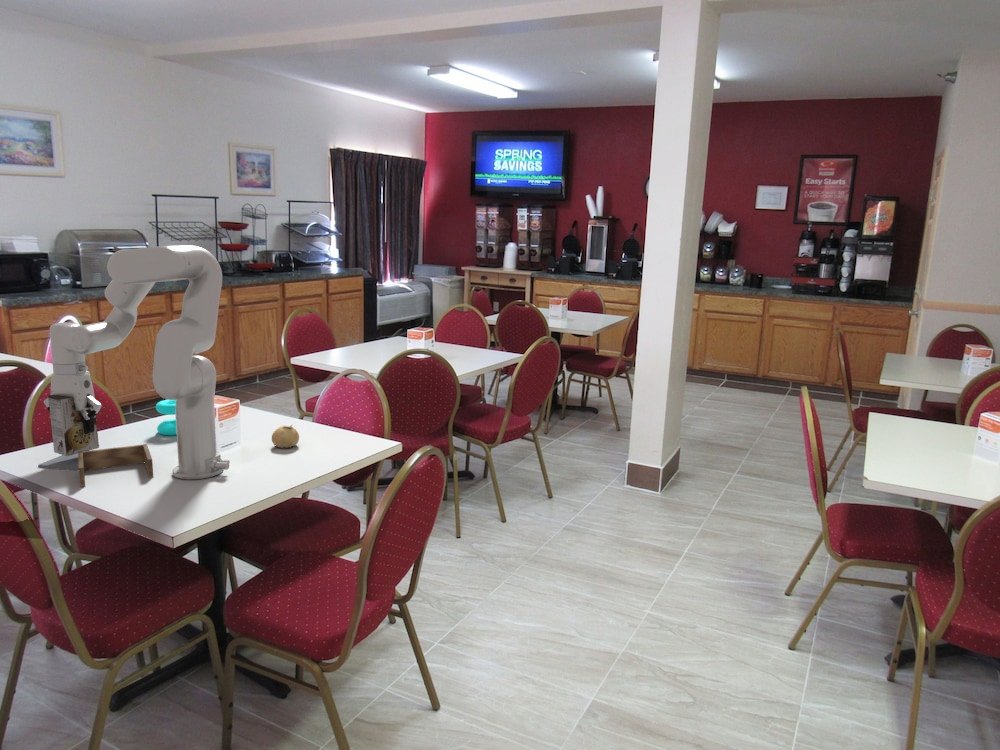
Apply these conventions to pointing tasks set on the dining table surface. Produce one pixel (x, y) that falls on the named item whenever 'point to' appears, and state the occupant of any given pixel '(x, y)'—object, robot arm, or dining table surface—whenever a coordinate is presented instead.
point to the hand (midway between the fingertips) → (75, 431)
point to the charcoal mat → (63, 462)
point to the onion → (285, 436)
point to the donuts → (167, 409)
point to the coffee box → (70, 427)
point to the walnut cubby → (114, 459)
